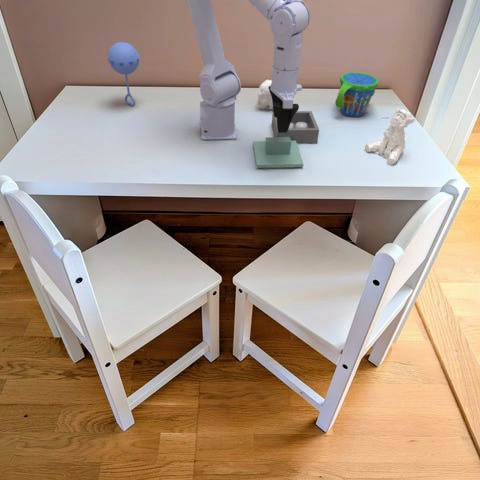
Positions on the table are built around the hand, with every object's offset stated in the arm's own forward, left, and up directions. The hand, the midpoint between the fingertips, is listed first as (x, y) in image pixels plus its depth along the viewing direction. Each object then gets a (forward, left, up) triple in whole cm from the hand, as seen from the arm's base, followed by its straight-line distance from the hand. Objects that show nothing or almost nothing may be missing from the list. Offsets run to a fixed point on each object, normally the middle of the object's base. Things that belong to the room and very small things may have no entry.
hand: (280, 124), depth 97 cm
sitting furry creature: (+29, +1, -9) cm, 31 cm away
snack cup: (+26, +25, -9) cm, 37 cm away
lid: (0, 0, -9) cm, 9 cm away
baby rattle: (-41, +31, -9) cm, 52 cm away
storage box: (+6, +12, -9) cm, 16 cm away
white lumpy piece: (+1, +31, -9) cm, 32 cm away
